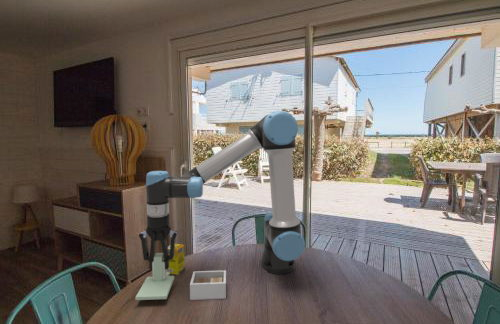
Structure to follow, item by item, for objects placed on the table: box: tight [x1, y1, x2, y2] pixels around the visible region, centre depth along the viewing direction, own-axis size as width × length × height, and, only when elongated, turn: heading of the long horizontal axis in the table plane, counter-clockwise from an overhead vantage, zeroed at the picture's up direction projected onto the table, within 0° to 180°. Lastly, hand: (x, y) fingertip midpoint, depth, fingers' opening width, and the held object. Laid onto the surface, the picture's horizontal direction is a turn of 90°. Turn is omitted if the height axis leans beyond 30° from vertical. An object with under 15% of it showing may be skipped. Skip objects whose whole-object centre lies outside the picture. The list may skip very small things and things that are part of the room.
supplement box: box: [166, 243, 185, 276], centre depth 111 cm, size 6×6×11 cm
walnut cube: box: [196, 278, 208, 283], centre depth 96 cm, size 4×4×4 cm
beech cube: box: [210, 278, 222, 283], centre depth 97 cm, size 4×4×4 cm
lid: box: [134, 252, 175, 301], centre depth 95 cm, size 16×10×10 cm, turn 4°
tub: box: [189, 269, 227, 301], centre depth 96 cm, size 12×9×6 cm
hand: (159, 277), depth 99 cm, fingers closed on lid, 3 cm apart
